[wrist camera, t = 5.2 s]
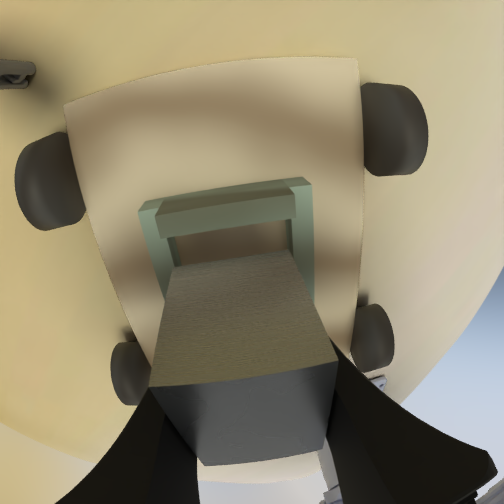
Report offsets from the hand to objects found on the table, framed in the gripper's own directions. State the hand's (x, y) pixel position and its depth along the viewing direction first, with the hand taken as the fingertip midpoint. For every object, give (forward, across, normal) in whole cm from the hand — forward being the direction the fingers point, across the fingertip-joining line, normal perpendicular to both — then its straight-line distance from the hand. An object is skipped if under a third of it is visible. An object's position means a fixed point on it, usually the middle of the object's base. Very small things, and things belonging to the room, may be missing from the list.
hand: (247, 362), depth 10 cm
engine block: (+2, 0, 0) cm, 2 cm away
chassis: (+8, 0, 0) cm, 8 cm away
